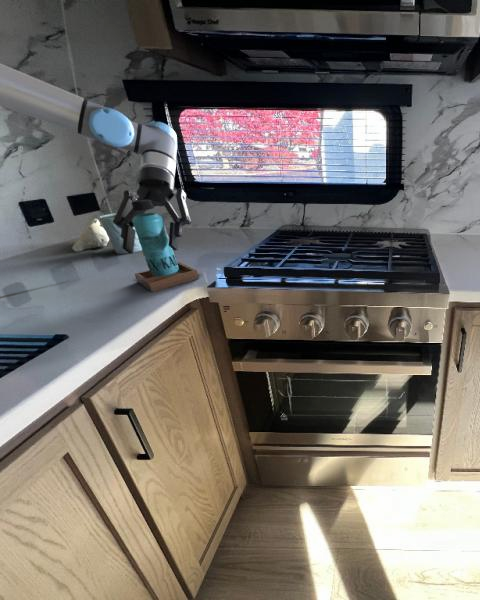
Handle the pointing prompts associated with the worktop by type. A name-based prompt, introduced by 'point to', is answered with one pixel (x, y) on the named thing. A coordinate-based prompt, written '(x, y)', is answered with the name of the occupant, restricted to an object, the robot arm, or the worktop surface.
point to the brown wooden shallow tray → (167, 278)
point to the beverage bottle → (154, 240)
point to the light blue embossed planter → (117, 234)
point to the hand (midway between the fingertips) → (150, 249)
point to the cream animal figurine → (92, 237)
